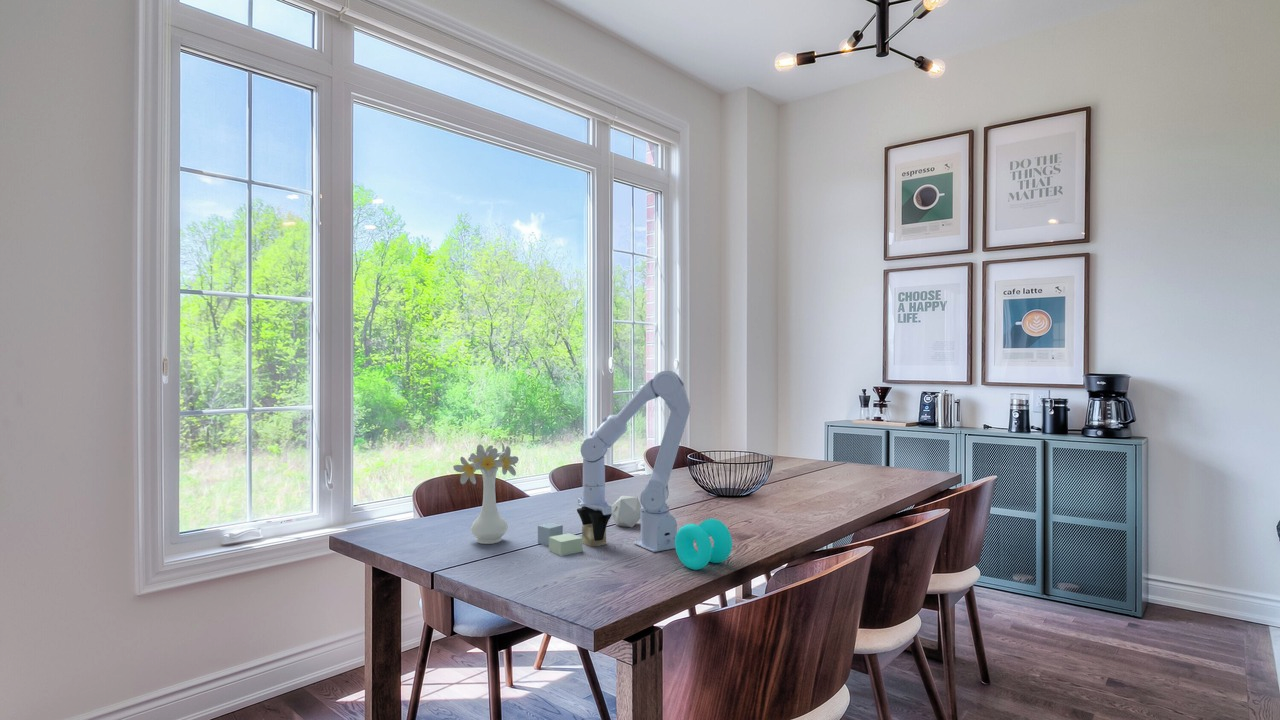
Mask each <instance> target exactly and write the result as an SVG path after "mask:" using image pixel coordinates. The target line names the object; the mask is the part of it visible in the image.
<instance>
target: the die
mask: <svg viewBox="0 0 1280 720" xmlns="http://www.w3.org/2000/svg"><path fill="white" fill-rule="evenodd" d="M610 506H611V513H612V516H611V517H612V518H613V521H614V523H615V526H618V527H626V528H634V526H636V524H637V523H638V522H639V521H641V507H642V505H641V502H640V499H639V497H638V496H629V495H621V496H620V497H618V499H617V500H616V501H615V502H614V503H613V504H612V505H610Z"/></svg>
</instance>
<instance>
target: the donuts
mask: <svg viewBox="0 0 1280 720" xmlns="http://www.w3.org/2000/svg"><path fill="white" fill-rule="evenodd" d="M729 530H730V529H728V527H727V525H726V524H724V523H723V522H722V521H721V520H719V519H716V518H707V519H704V520H703V521H701V522H700V524H699V525H698V524H695V523H687V524H685V525H682V526H681V527H680V528H679V530H677V535H676V539H675V548H674V549H675V552H676V555H677V557H678V559H679V561H680V562H681V563H682V565H684V566H685V567H687V568H688V569H691V570H695V571H696V570H702V569H703V568H705V567H706V566H707V565H708V564H709V562H710V563H713V564H719V563H722V562H725V561H726V560H727V559H728V558H729V557H730V555H731V552H732V550H733V539H732V534H731V532H730V531H729ZM710 537H711V539H712V540H711V539H710ZM712 541H713V545H712ZM694 542H695V543H696V548H697V550H696V549H695V547H694Z"/></svg>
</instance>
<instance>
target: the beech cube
mask: <svg viewBox="0 0 1280 720" xmlns="http://www.w3.org/2000/svg"><path fill="white" fill-rule="evenodd" d="M581 532H582V533H581V538H582V544H584V545H586V546H588V547H591V548H592V547H599V546H604V545H607V528H606V529H605V533H604V538H603V540H599V541H595V539H594V533H593V525H592V524H587V525H583V524H582V525H581Z"/></svg>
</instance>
